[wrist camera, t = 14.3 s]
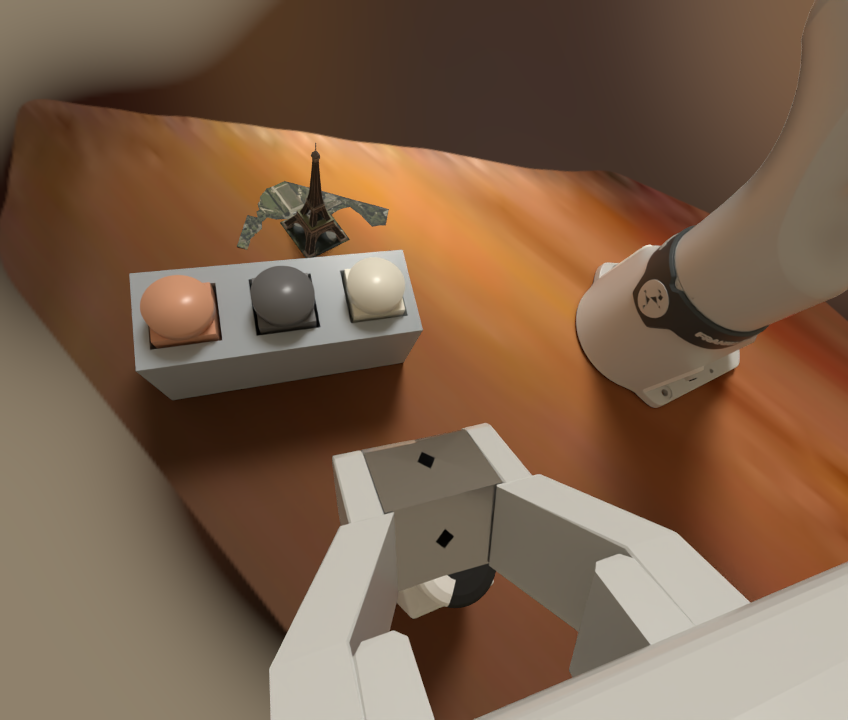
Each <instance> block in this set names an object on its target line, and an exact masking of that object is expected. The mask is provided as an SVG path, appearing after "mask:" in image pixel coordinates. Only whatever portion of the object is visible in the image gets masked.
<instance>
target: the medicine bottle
mask: <svg viewBox="0 0 848 720" xmlns="http://www.w3.org/2000/svg"><path fill="white" fill-rule="evenodd" d="M495 572H496V570H494V569H493V568H492V567H490V566H489V563H488V564H484V565H481V566H477V567H474V568H470V569H467V570H463V571H460V572H456V573H453V574H449V575H446V576H442V577H439V578H436V579H434V580H431V581H428V582H425V583H422V584H419V585H416V586H413V587H411V588H408V589H405V590H402V591H399V592H398V599H397V603H398V605H399V606H400V607H401V608H402V609H403V610H404V611H405V612H406V613H407V614H408V615H409V616H410V617H411V618H413V619H415V618H418V617H420V616H422V615H425V614H427V613H429V612H432V611H434V610H436V609H438V608H441V607H443V606H446V607H450V608H461V607H466V606H469V605H471V604H473V603H475V602H476V601H478V600H479V599H480V598H481V597H482V596H483V595H484V594H485V593H486V592H487V591H488V589H489V588H490V586H491V585H492V584H493V582H494V581H493V579H494V576H495Z"/></svg>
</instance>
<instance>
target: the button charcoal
mask: <svg viewBox="0 0 848 720" xmlns="http://www.w3.org/2000/svg"><path fill="white" fill-rule="evenodd" d="M250 296H251V300H252V304H253V307H254V310H255V312H256V313H257V318H258V325H259V330H260V334H261V335H266V334H274V333H281V332H289V331H296V330H304V329H311V328H316V316H315V311H314V303H315V291H314V286H313V284H312V282H311V280H310V279H309V277H308V273H303V272H302V271H300V270H298V269H296V268H294V267H290V266H274V267H270V268H268V269H266V270H264V271H262V272H261V273H260V274H259V275H257V277H256V278H252V285H251V290H250Z"/></svg>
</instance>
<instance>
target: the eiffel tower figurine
mask: <svg viewBox="0 0 848 720" xmlns="http://www.w3.org/2000/svg"><path fill="white" fill-rule="evenodd" d="M311 157H312V171H311V180H310V188H308V187H305V186H301V185H297V184H293V183H290V182H286V181H284V182H282V183H280V184H277V185H275V186H273V187H270V188H267V189H266V190H265V192H264V193H263V194H262V195H261V197H260V202H259V203H258V207H259V211H257V216H258V218H257V217H253V216H249V215H247V218H246V221H245V224H244V227H243V230H242V233H241V236H240V239H239V242H238V245H237V247H240V248H244V249H247V248H248V246H249V243H250V239H251V238H252V237H253V236H254V234H255V233H257V232H258V231H260V230H261V229H262V221H264V220H265V219H266V218H267V217H268V218H272V219H287V220H285V221H282V222H280V223H281V225H282V226H283V227H284V229H285V230H286V231H287V233H288V234H289V236H290V237H291V238H292V240H293V241H294V242H295V244H296V245H297V246H298V248H299V249H300V250H301V252H302V253H303V254H304V256H305V257H306V258H314V257H316V256H318V255H320V254H322V253H324V252H326V251H328V250H330V249H332V248H334V247H336V246H338V245H340V244H342V243H344V242H346V241H348V240H350V239H349V238H348V237H347V235H346V234H345V233H344V231H343V230H342V229H341V227H340V226H339V225H338V223H337V222H336V221H335V219H334V218H333V217H332V215H331V214H333V213H334V212H336V211H337V210H340V209H342V208H346V207H351V208H352V209H354V210H355V211H356V212H358V213H359V214H360V215H362V217H363V218H364V219H365V220H366V221H367V222H368V223H369V224H370V225H371V226H372V227H373V226H378V225H386V220H387V215H388V210H389V209H386V208H382V207H379V206H375V205H371V204H367V203H363V202H360V201H356V200H352V199H349V198H345V197H342V196H338V195H334V194H331V193H327V192H323V191H321V183H320V171H319V159H320V155H319V153H318V152H317V151H316V143H315V151H314V152H312V154H311Z"/></svg>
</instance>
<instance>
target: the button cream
mask: <svg viewBox="0 0 848 720" xmlns="http://www.w3.org/2000/svg"><path fill="white" fill-rule="evenodd" d="M343 288H344V293H345V298H346V303H347V307H348V312H349V317H350V322H351V323H357V322H364V321H372V320H379V319H387V318H395V317H402V316H403V314H404V312H405V306H404V302H403V298H402V297H403V294H404V291H405V280H404V277H403V274H402V273H401V271H400V270H399V269H398V267H397V266H396V265H394V264H393V263H392V262H390V261H388V260H386V259H382V258H377V257H370V258H365V259H363V260H360V261H359V262H357V263H356V264H355V265H354V266H353V267H352V268H351V269H344V277H343Z"/></svg>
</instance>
